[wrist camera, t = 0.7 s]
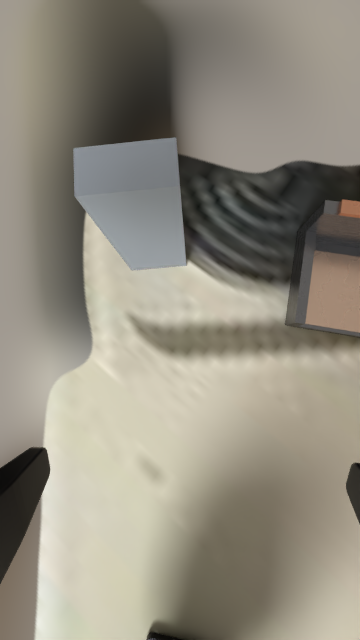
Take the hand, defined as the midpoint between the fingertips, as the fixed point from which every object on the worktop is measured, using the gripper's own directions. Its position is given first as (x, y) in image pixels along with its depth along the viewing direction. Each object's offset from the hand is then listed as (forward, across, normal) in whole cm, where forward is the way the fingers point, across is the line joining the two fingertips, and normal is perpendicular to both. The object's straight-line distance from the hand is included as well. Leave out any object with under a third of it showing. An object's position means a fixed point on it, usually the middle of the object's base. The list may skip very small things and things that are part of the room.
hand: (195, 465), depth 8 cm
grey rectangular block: (+18, +3, -5) cm, 19 cm away
